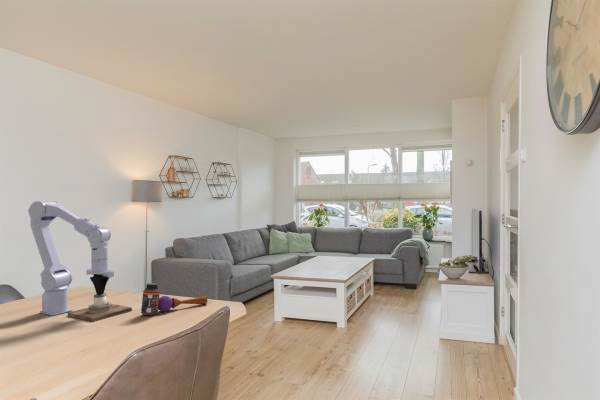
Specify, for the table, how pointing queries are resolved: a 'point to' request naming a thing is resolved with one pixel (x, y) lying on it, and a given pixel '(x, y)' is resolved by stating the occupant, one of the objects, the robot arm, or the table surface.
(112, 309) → the board with ring socket
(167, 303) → the kendama
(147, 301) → the supplement bottle
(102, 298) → the plug
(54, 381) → the table surface
